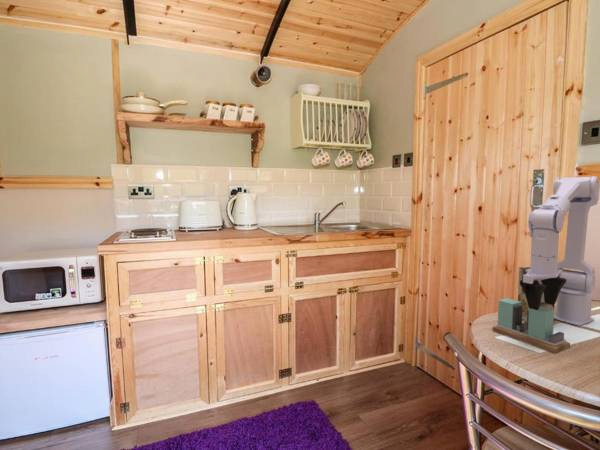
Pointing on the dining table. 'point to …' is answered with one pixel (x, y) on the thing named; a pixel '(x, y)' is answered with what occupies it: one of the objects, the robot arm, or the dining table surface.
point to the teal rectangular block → (540, 322)
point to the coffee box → (523, 297)
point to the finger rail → (524, 328)
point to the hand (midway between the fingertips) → (541, 306)
